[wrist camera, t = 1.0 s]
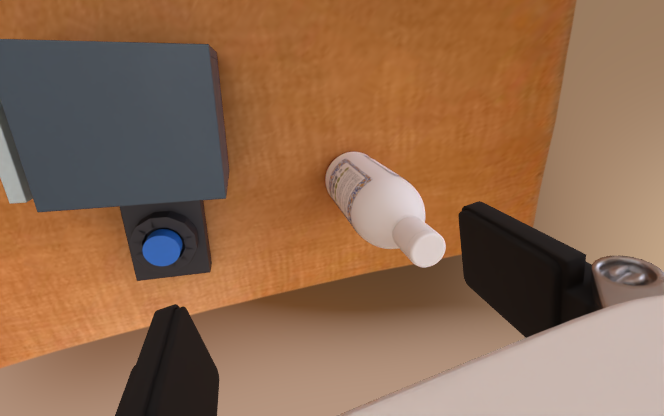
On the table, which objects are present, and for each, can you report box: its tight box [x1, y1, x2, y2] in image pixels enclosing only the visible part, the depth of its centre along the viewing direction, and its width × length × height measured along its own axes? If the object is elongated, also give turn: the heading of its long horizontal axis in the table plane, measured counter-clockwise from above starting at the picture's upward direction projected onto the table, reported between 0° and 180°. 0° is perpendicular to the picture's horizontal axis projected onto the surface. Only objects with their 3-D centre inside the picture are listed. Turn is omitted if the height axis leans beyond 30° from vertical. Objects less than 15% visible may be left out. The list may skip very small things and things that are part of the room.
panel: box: [120, 200, 212, 281], centre depth 38 cm, size 10×8×4 cm
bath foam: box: [325, 152, 446, 267], centre depth 34 cm, size 7×7×20 cm
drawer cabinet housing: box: [0, 39, 229, 212], centre depth 31 cm, size 15×13×10 cm
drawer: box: [0, 100, 33, 203], centre depth 30 cm, size 19×11×8 cm, turn 90°
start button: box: [142, 229, 183, 266], centre depth 36 cm, size 4×4×2 cm
